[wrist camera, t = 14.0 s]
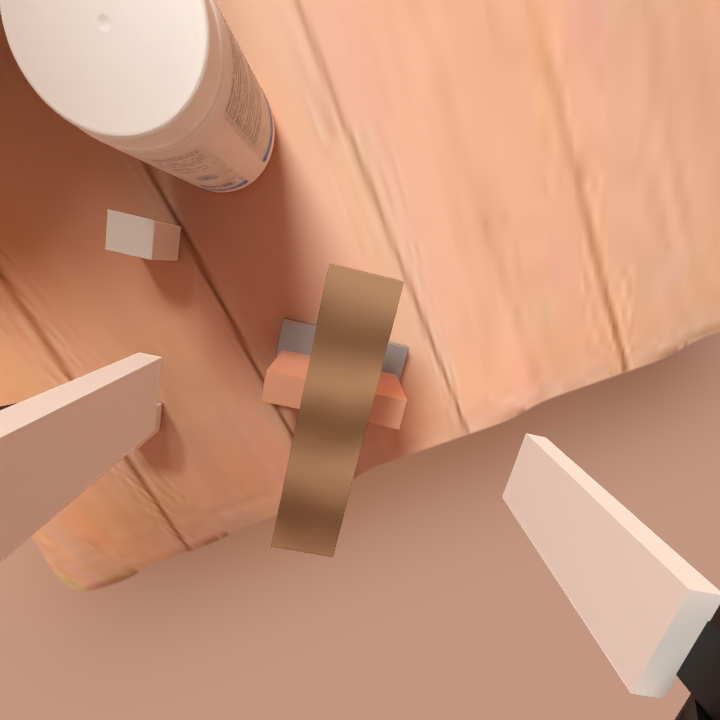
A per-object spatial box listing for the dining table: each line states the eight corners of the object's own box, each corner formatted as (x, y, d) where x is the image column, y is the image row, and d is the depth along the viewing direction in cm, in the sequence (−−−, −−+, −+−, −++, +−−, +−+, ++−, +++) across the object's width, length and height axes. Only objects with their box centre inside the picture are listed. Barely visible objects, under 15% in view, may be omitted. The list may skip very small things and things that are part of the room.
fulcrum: (270, 396, 36) (248, 432, 29) (284, 318, 34) (265, 334, 27) (386, 420, 37) (396, 461, 30) (406, 346, 35) (423, 368, 28)
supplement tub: (205, 37, 29) (61, -188, 14) (300, 126, 30) (257, 4, 16) (138, 141, 30) (-49, 32, 16) (232, 220, 32) (139, 184, 18)
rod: (335, 515, 31) (332, 557, 26) (282, 506, 30) (271, 546, 26) (394, 279, 26) (404, 281, 22) (332, 264, 25) (329, 264, 21)
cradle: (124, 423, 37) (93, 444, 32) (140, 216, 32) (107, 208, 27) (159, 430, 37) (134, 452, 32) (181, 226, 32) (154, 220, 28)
